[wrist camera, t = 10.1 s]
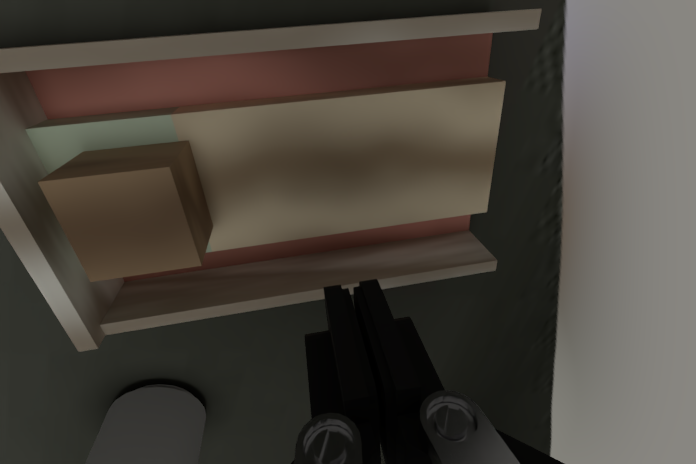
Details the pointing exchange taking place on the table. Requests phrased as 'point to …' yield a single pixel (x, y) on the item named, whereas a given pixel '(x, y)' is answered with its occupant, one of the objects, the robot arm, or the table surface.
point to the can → (151, 428)
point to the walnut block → (132, 209)
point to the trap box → (265, 158)
